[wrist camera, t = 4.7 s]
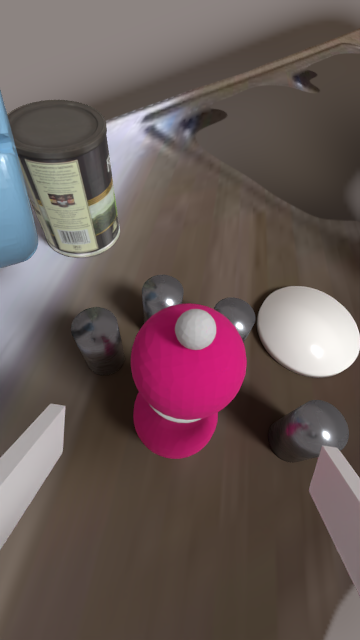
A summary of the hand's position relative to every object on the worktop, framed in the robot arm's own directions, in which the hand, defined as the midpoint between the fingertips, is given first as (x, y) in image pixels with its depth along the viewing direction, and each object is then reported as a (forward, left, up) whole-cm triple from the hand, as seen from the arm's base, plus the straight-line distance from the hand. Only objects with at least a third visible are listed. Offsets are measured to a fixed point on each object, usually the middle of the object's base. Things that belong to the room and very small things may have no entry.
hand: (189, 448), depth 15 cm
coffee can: (-33, -1, -14) cm, 36 cm away
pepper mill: (-4, +1, -14) cm, 15 cm away
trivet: (-8, +20, -14) cm, 26 cm away
